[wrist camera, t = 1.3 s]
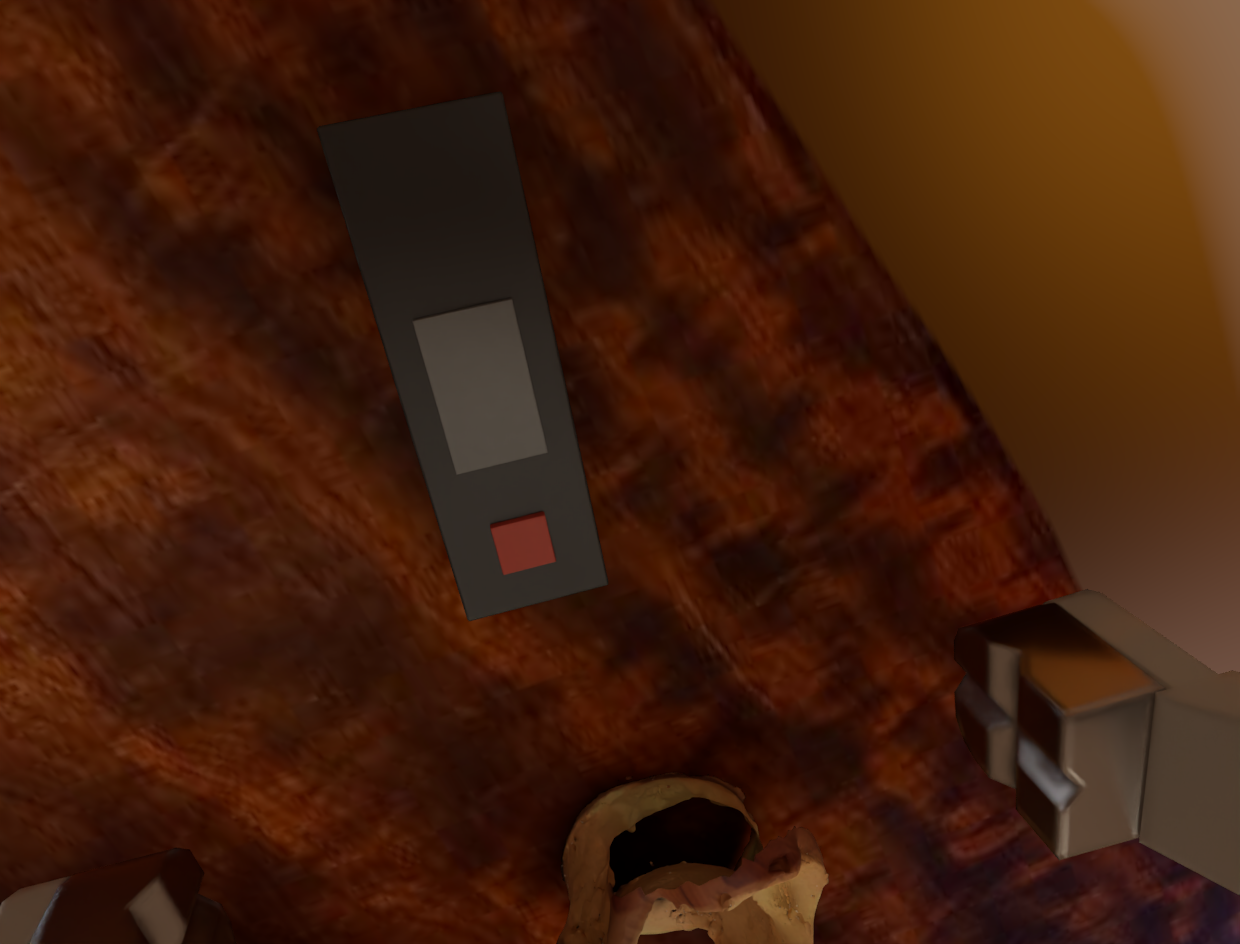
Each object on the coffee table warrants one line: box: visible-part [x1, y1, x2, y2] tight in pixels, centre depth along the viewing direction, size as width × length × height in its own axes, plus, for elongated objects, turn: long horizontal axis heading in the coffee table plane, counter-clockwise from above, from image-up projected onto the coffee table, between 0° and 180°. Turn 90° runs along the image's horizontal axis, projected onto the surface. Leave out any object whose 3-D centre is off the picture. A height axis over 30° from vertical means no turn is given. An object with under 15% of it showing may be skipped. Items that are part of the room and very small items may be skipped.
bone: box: [556, 772, 829, 944], centre depth 29 cm, size 12×10×8 cm
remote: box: [317, 92, 608, 621], centre depth 23 cm, size 14×4×3 cm, turn 10°
